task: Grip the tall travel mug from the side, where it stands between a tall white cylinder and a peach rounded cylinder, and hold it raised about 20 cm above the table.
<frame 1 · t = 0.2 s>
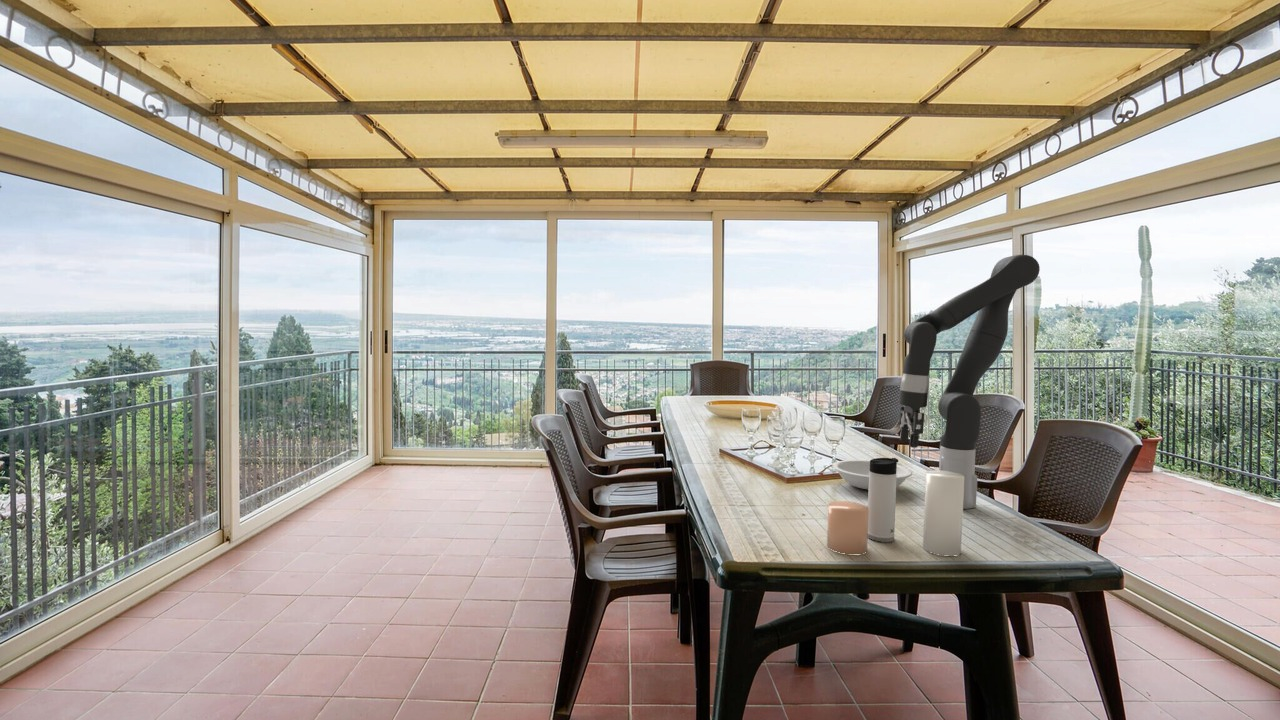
hand: (908, 444, 174), 18 cm above the table, tool pointing down, fingers open, 8 cm apart
travel mug: (881, 539, 145), on the table
peach rounded cylinder: (846, 548, 139), on the table
soup bowl: (870, 488, 191), on the table
tall white cylinder: (941, 550, 138), on the table
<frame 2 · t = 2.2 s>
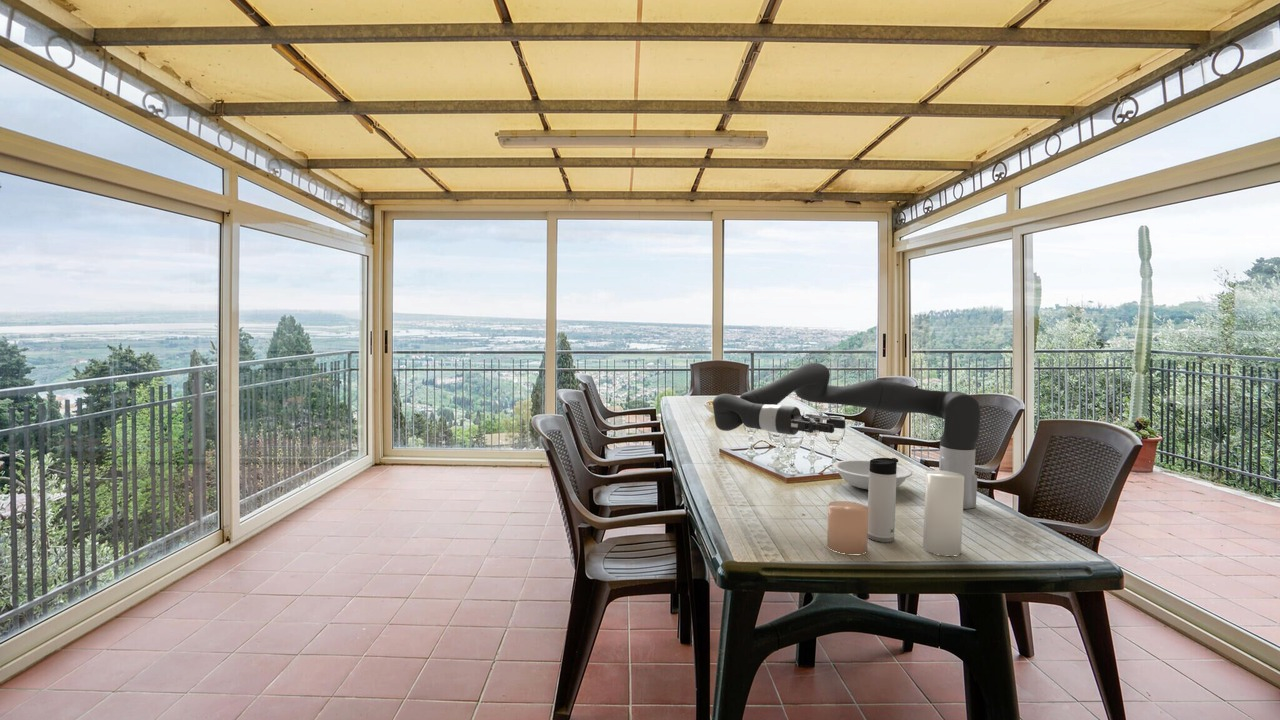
hand: (839, 426, 150), 27 cm above the table, tool horizontal, fingers open, 8 cm apart
nothing on the table moved.
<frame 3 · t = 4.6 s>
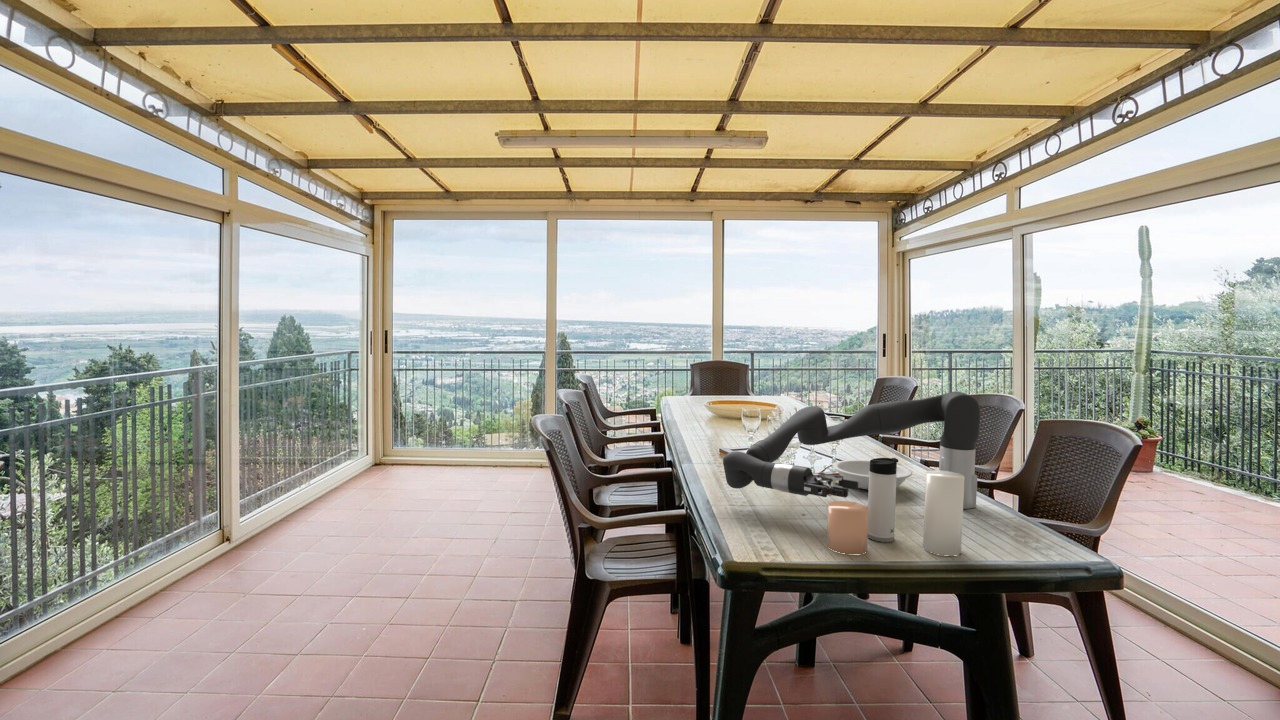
hand: (852, 489, 149), 11 cm above the table, tool horizontal, fingers open, 8 cm apart
nothing on the table moved.
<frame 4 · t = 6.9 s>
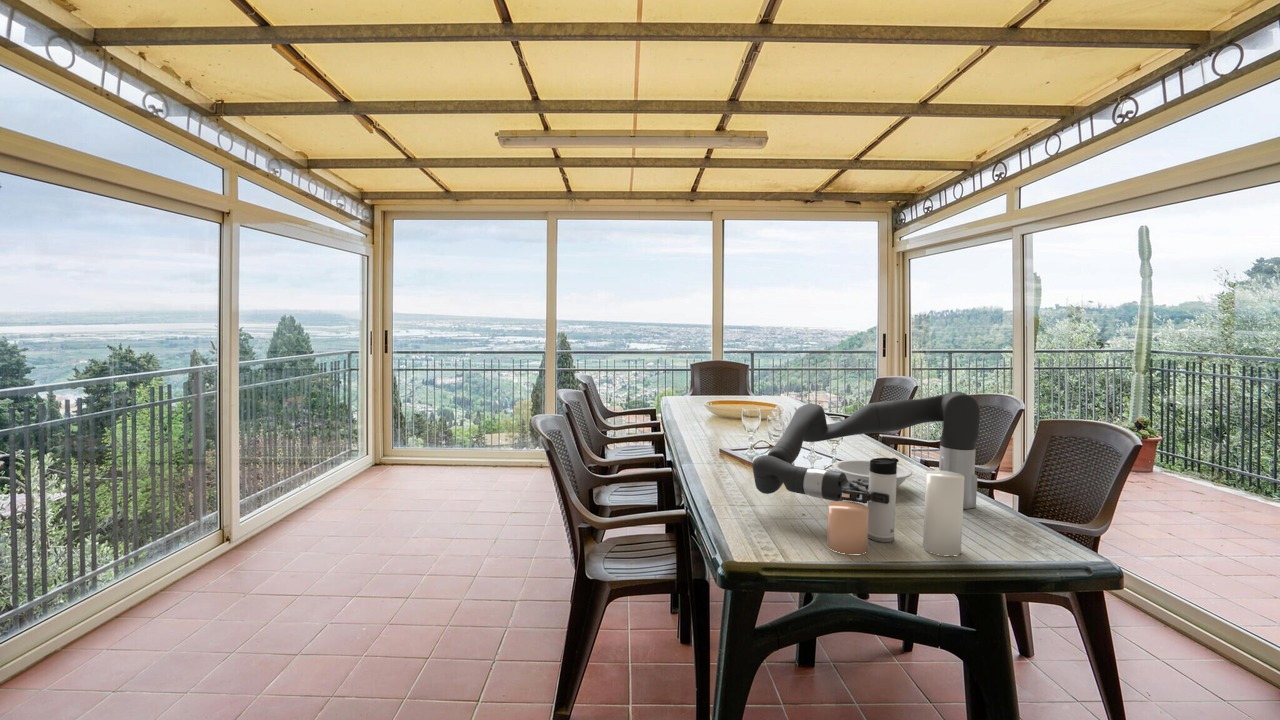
hand: (892, 496, 143), 11 cm above the table, tool horizontal, fingers closed on travel mug, 6 cm apart
travel mug: (881, 538, 145), on the table, touching gripper
everything else where it was.
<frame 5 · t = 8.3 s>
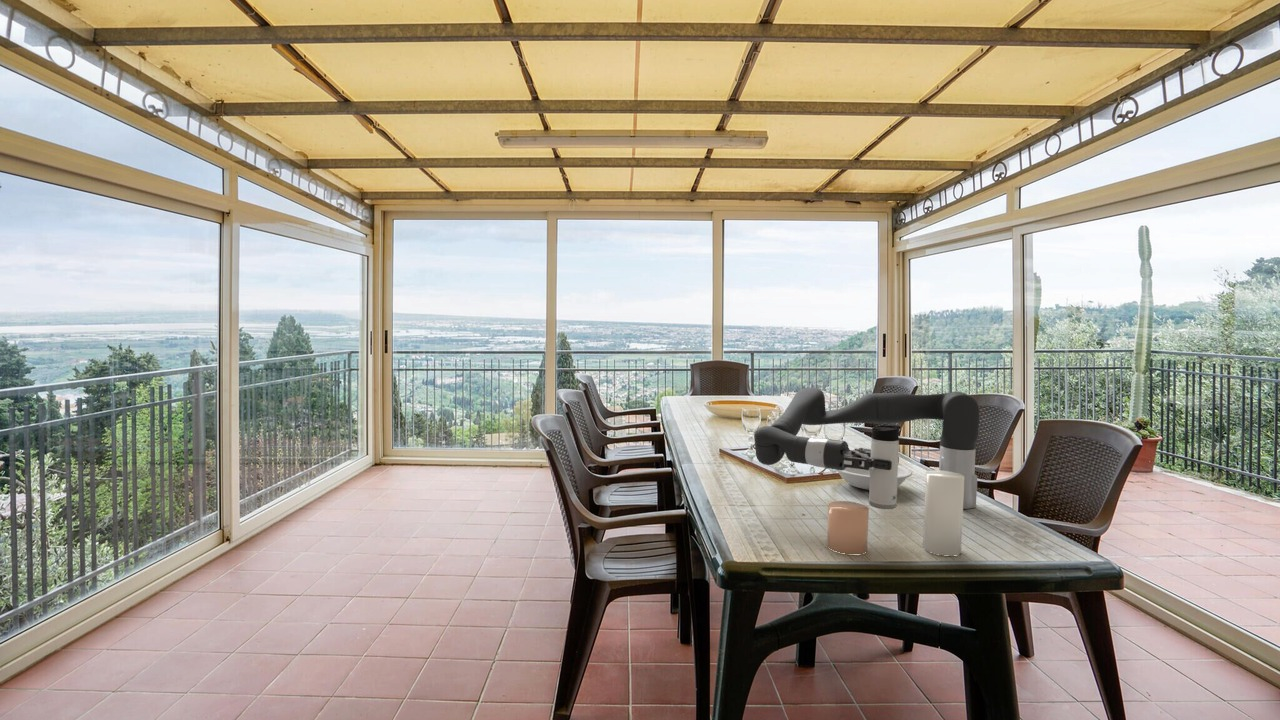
hand: (894, 462, 143), 19 cm above the table, tool horizontal, fingers closed on travel mug, 6 cm apart
travel mug: (883, 506, 145), point 8 cm above the table, touching gripper
everything else where it was.
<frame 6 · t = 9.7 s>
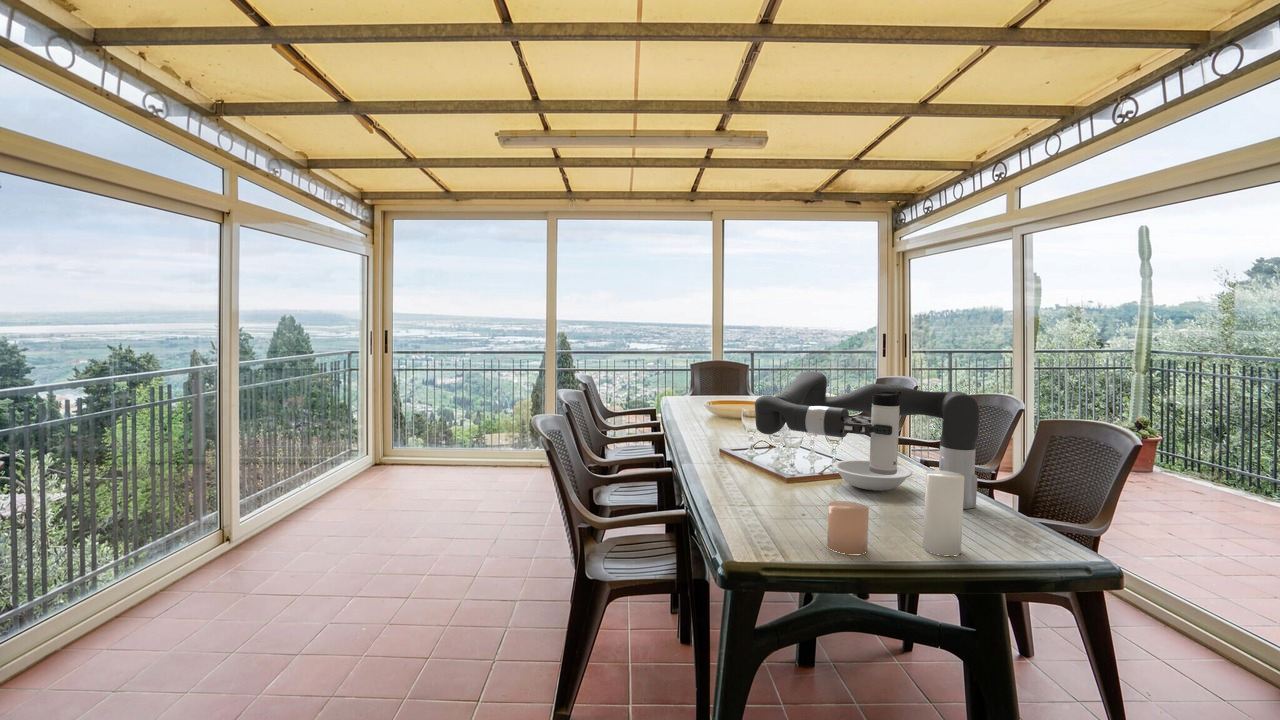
hand: (895, 428, 142), 28 cm above the table, tool horizontal, fingers closed on travel mug, 6 cm apart
travel mug: (883, 472, 145), point 16 cm above the table, touching gripper
everything else where it was.
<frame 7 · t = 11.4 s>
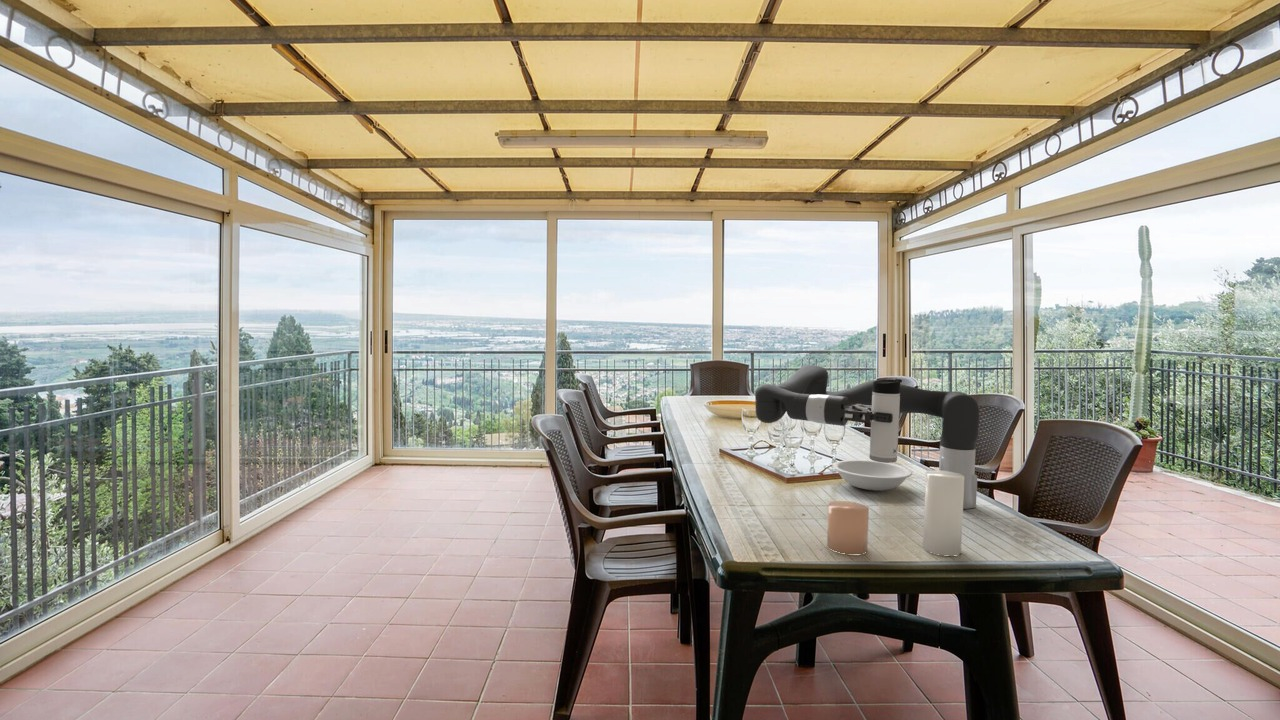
hand: (895, 416, 142), 31 cm above the table, tool horizontal, fingers closed on travel mug, 6 cm apart
travel mug: (883, 460, 144), point 19 cm above the table, touching gripper
everything else where it was.
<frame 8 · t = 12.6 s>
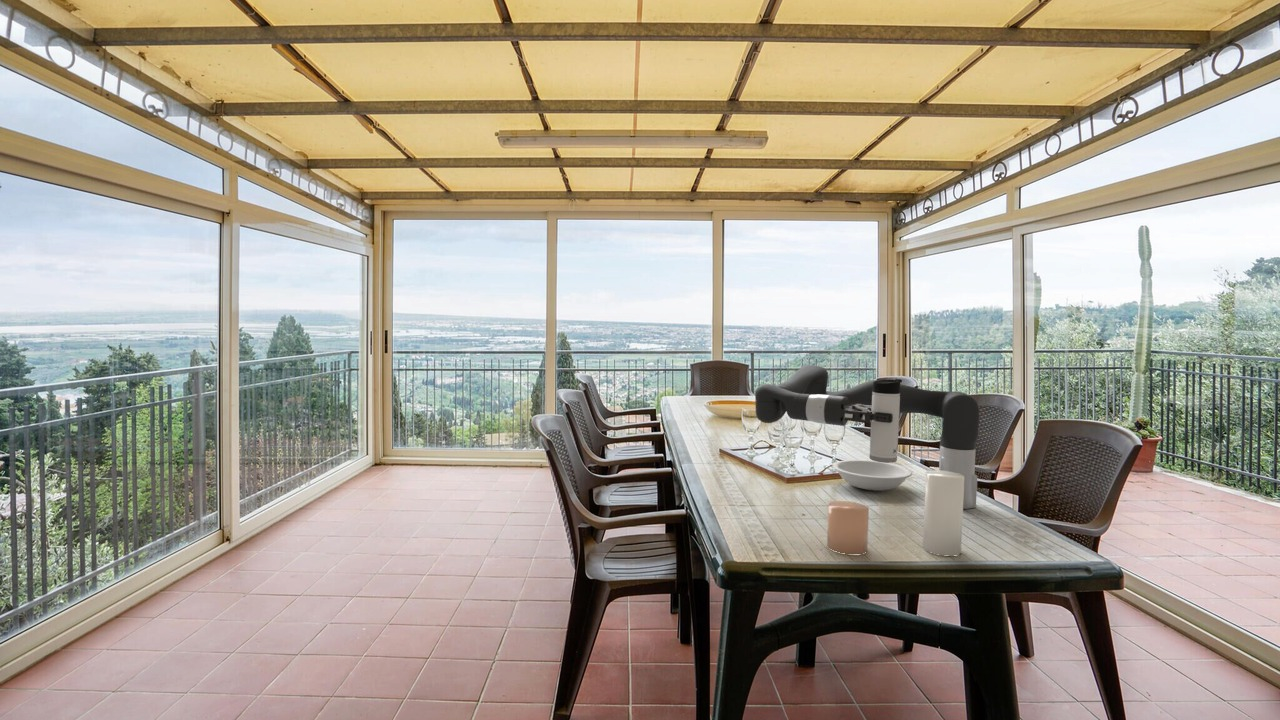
hand: (895, 416, 142), 31 cm above the table, tool horizontal, fingers closed on travel mug, 6 cm apart
travel mug: (883, 460, 144), point 19 cm above the table, touching gripper
everything else where it was.
at the end: the gripper is holding travel mug; travel mug point 19.4 cm above the table; tall white cylinder moved 0.0 cm from its start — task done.
